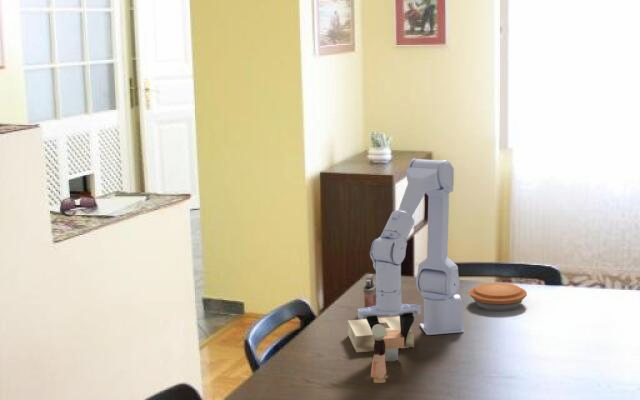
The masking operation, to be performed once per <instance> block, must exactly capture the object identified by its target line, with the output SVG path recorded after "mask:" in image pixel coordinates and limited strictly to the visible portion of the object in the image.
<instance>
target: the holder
mask: <svg viewBox="0 0 640 400" xmlns="http://www.w3.org/2000/svg"><path fill="white" fill-rule="evenodd" d="M377 318H378V321H379V323H380V325H382V326H383V327H385V329H386V331H387V330H400V332H401V327H400V316H399V315H396V316H384V317H377ZM414 332H415V331H414V330H413V329H412V326H411V327H410V330H409V332H408V335H407V339H406V345H405V346H404V348H403V349H410V348H409V347H413V348H415V337H414V336H415V333H414ZM372 334H373V333H372V330H371V328H370V326H369V323H368V321H367V319H366V318H364V319H351V320H349V319H348V320H347V335H348V338H349V339H350V342H351V344H352V346H353V348H354V350H355V352H356V353H363V352H365V353H366V352H374V344H375V340H374V338H373V336H372ZM398 350H399V348H398Z"/></svg>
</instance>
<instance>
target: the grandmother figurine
mask: <svg viewBox="0 0 640 400" xmlns="http://www.w3.org/2000/svg"><path fill="white" fill-rule="evenodd" d="M372 333H373V334H372V336H373V338H374V340H375V344H374V351H373V352H374V353H373V359H372V361H371V362H372V363H371V371H370V377H371V378H373V380H372V381H373V383H374V384H385V383H386V382H387V380H386V379H388V375H387V367H386V366H387V365H386V361H385V353H386V352H387V350H386V347H385V342H384V340H383V338H384V337H385V336H386V335H387V331H386V329H385V327H383V326H382V325H380V324H376V325H374V326H373V328H372Z"/></svg>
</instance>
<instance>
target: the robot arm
mask: <svg viewBox="0 0 640 400" xmlns="http://www.w3.org/2000/svg"><path fill="white" fill-rule="evenodd" d="M454 169H455V168H454V167H453V165H452V164H451V162H450V161H449V160H448V159H447V160H446V159H444V160H440V159H439V160H437V159H419V158H412V159H411V160H410V162H409V163H408V166H407V170H406V180H407V185H406V187H405V190H404V193H403V195H402V199H401V202H400V204H399V207H398V209H397V210H394V211H392V212H391V214H390V216H389V218H388V220H387V222H386V224H385V226H384V228H383V230H382V232H381V235H380V236H379V237H378V238H375V239H374V240H373V241H372V242H371V246H370V251H369V257H370V259H371V261H372V266H373V269H374V270H375V282H376V293H377V298H376V306H372V307H367V308H365V307H362V308H357V317H358V320H360V319H367V321H368V323H369V326H370V328H371V330H372V328H373V326H374V325H376V324H380V323H379V321H378V318H383V317H396V316H400V327H401V333H402V335H403V336H404V346H405V345H406V339H407V335H408V332H409V330H410V327H411V328H412V325H413V324H414V321H415V316H414V315H422V305H421V304H419V303H415V304H414V303H413V304H411V303H402V302H403V300H402V274H401V273H402V263H403V261H404V260H405V258H406V251H407V246H408V242H407V240H408V237H409V235H410V233H411V231H412V229H413V227H414V225H415V220H414V218H413V215H414V214H415V212H416V210H417V208H418V207H419V205H420V204H421V201H422V200H423V198H424V196H425V195H427V196H428V201H427V203H428V204H427V205H428V206H427V240H426V241H427V242H426V243H427V245H426V246H427V248H426V249H427V250H426V251H427V252H426V258H425V259H424V260H422V261H421V262H419V264H418V269H417V273H416V278H415V286H416V289H417V291H418V292H420V296H421V297H423V322H422V323H419V327H420V328H421V329H422V330H423V332H424V333H425V335H427V336H433V335H445V334H456V333H457V334H458V333H464V324H463V323H464V321H463V319H464V318H463V315H464V314H463V313H464V312H463V311H464V310H463V309H464V308H463V302H462V298H461V296H460V294H458V292H459V290H460V285H461V280H460V276H459V267H458V265H457V264H456V263H455V262H453V261H452V259H450V258H449V254H448V253H449V252H448V251H449V220H450V218H449V217H450V216H449V215H450V214H449V213H450V193H452V192H453V191H454V184H455V183H454V182H455V181H454V179H455V178H454V177H455V174H454V173H455V171H454Z"/></svg>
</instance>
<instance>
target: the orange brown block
mask: <svg viewBox="0 0 640 400" xmlns="http://www.w3.org/2000/svg"><path fill="white" fill-rule="evenodd" d="M383 340H384V342H385V347H386V350H387V352H386V353H385V362H386V361H388V362H397V361H396V360H398V361H399V349H398V348H401V349H405V348H404V336H403V335H402V333H401V332H400V330H387V335H386V336H385V337H384V338H383Z"/></svg>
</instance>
